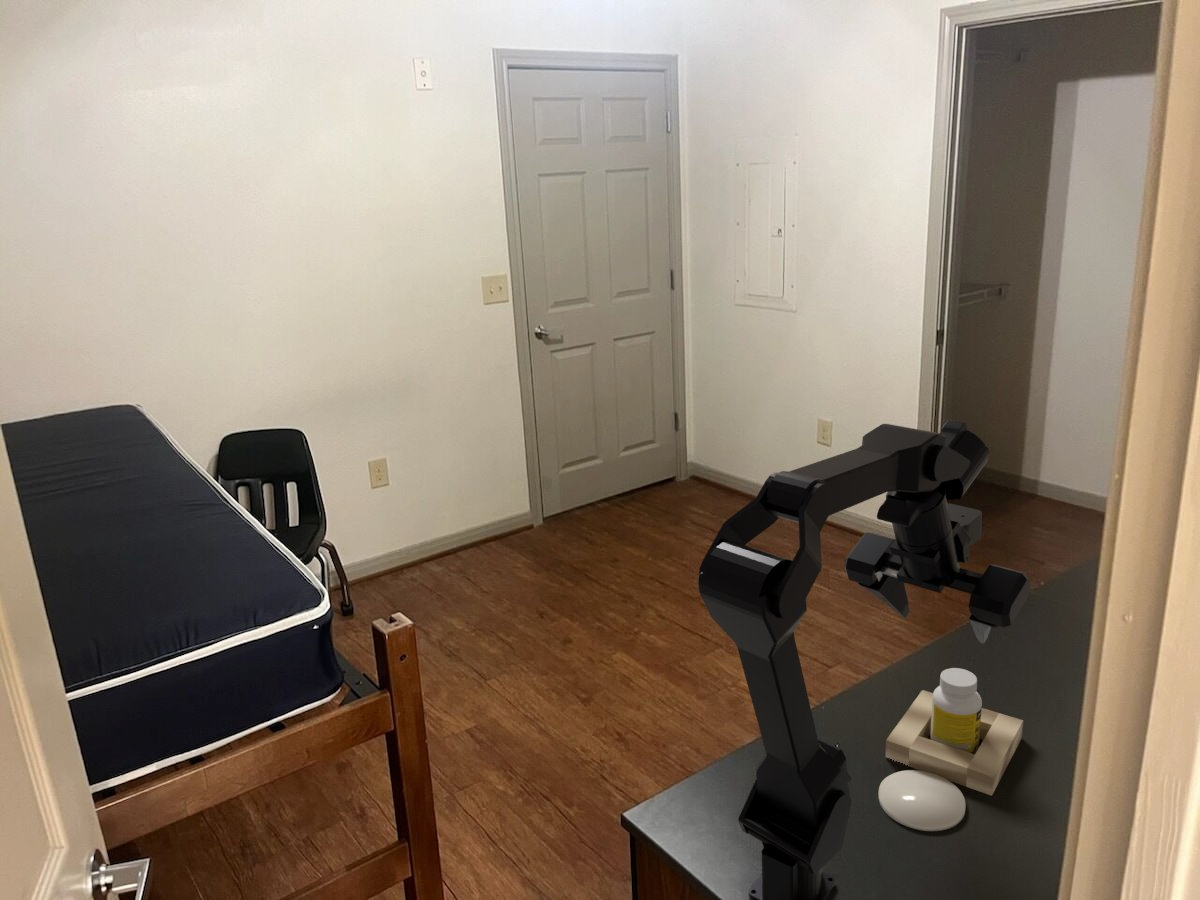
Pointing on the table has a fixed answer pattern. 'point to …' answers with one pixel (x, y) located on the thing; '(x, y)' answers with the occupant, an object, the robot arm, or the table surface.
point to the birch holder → (951, 762)
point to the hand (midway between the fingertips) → (943, 627)
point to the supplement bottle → (957, 710)
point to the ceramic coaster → (922, 800)
